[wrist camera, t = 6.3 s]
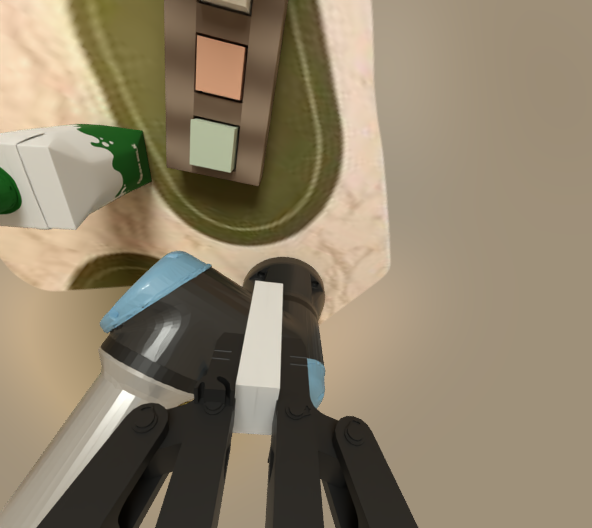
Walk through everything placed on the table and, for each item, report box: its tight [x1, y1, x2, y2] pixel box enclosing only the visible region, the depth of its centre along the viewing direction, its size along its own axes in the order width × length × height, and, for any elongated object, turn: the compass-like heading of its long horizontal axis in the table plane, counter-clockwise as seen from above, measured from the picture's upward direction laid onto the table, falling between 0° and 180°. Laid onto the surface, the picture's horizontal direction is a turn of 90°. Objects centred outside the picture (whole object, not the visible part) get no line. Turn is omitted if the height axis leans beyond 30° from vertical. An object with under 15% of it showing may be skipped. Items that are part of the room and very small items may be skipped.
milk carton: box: [0, 124, 152, 230], centre depth 32 cm, size 9×9×20 cm
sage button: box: [190, 118, 240, 173], centre depth 35 cm, size 5×5×4 cm
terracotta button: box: [196, 35, 248, 100], centre depth 33 cm, size 5×5×4 cm
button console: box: [164, 0, 288, 186], centre depth 34 cm, size 24×12×5 cm, turn 168°
